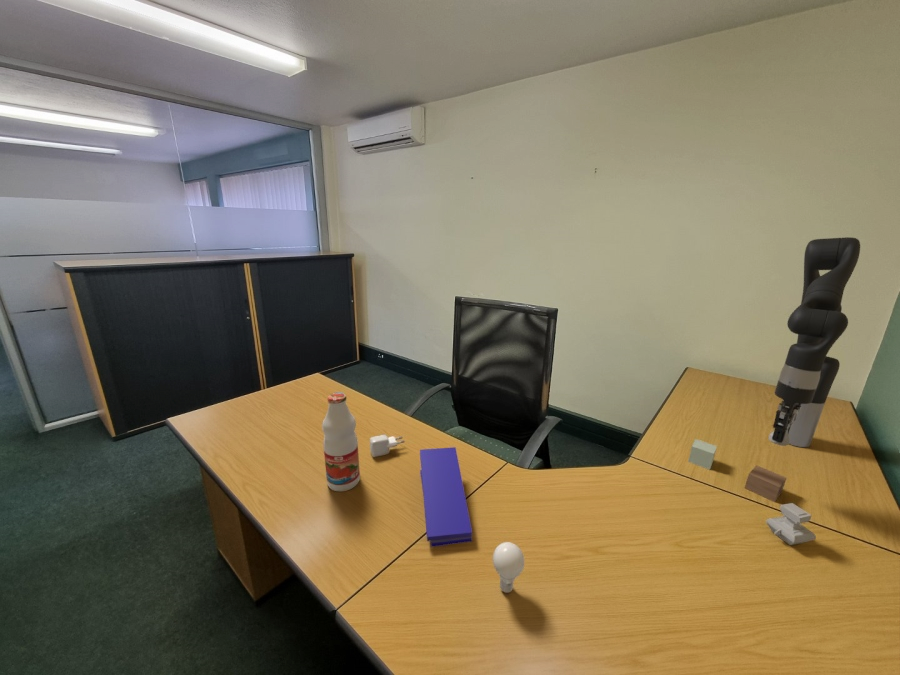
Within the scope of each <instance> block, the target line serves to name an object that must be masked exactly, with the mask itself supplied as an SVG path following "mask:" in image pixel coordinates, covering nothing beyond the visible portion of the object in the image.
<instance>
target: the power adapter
mask: <svg viewBox="0 0 900 675" xmlns="http://www.w3.org/2000/svg"><path fill="white" fill-rule="evenodd" d="M401 439H403V436H397V437H395V436H394V435H393V436H392V435H391V436H389V437H388V436H387V434H380V435H376V436H371V437H370V438H369V446H370V447H369V449H370V454H371V455H372V457H374V458H375V457H380V456H384V455H385V456H386V455H388V454H389V453H390V448H394V447H398V445H399V444H403V443H405V440H401ZM397 440H400V441H397Z"/></svg>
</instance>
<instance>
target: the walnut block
mask: <svg viewBox="0 0 900 675" xmlns="http://www.w3.org/2000/svg"><path fill="white" fill-rule="evenodd" d="M786 480H787V477H786V476H783V475H782V474H778V473H777V472H774V471H772V470H769V469H767V468H764V467H761V466H759V465H757V464H756V465H755V466H754V467H753V469H752V470H751V471H750V472H749V473H748V475H747V478H746V482H745V486H744V489H746V490H748V491H750V492H753V493H755V494H757V495H758V496H761V497H762V498H765V499H767V500H770V501H772V502H774V503H775V502H776V501H777V500H778V499H779V496H780V495H781V494H782V492H783V489H784V486H785V483H786Z"/></svg>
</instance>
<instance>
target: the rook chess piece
mask: <svg viewBox="0 0 900 675" xmlns="http://www.w3.org/2000/svg"><path fill="white" fill-rule="evenodd" d="M789 420H790V419H789ZM792 423H793V422H792ZM779 425H782V426H784V425H783V424H781V423H779ZM789 427H790V424H789V426H788V428H787V429H789ZM773 433H774V430H773V431H772V432H770V433H769V435H768V440H769V441H770V443H773V444H774V445H777V446H783V447H785V446H788V445H790V444H789V441H790V439H789V438H788V437H789V436H788V430H787V431H786V433H785V436H784V439H783V442H781V443H780V442H777V441H774V440H772V436H773Z"/></svg>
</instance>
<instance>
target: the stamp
mask: <svg viewBox="0 0 900 675" xmlns="http://www.w3.org/2000/svg"><path fill="white" fill-rule="evenodd" d="M779 510H780V513H781V514H782V515H783V516H778V517H771V518H767V519H766V520H765V523H766V525H767V527H768V528H769V529H770V531H771V532H773V534H774V535H775V536H777V537H778V538H780V539H781V540H782V541H784V542H785V543H787V544H788V545H789V546H793V545H799V544H804V543H807V542H810V541H813V540H816V538H817V537H816V534H815V533H814V532H813V531H811V530H810V529H808V528H807V527H806V526H804V525H802V524H806V523H809V522H810V520H811V518H812V514H810V513H809V512H807V511H805V510H804V509H802V508H801V507H800V506H798V505H796V504H795V503H793V502H791V503H790V502H789V503H785V504H780V507H779Z"/></svg>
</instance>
